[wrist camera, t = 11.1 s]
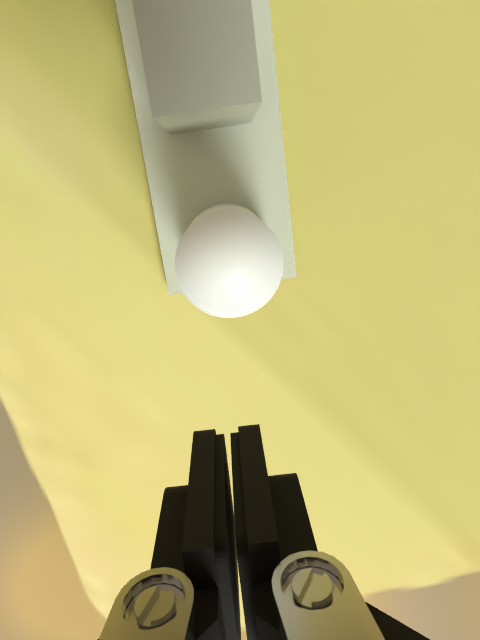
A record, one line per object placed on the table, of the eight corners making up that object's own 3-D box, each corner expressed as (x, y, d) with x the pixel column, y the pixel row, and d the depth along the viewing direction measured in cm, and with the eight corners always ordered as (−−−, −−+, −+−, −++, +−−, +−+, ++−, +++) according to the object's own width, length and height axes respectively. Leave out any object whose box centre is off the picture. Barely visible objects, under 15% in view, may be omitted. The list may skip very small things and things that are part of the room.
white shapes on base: (249, -170, 20) (264, -364, 13) (293, 273, 26) (321, 307, 19) (91, -149, 20) (20, -331, 13) (171, 289, 26) (152, 331, 19)
